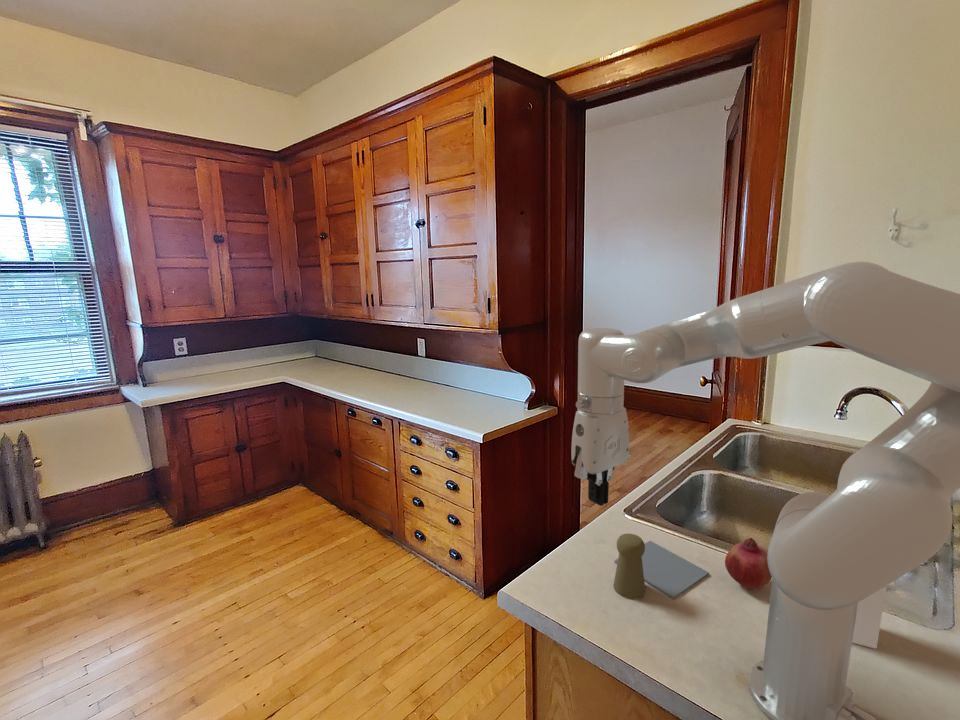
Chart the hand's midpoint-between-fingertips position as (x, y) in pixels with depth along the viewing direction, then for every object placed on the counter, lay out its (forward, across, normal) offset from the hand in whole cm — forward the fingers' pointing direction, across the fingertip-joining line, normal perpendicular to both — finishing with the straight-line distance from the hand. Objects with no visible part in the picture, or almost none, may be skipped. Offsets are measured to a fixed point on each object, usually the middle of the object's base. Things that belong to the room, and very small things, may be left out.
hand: (598, 501), depth 83 cm
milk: (+22, +30, -29) cm, 47 cm away
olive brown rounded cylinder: (+22, +9, 0) cm, 24 cm away
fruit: (+22, +28, -13) cm, 38 cm away
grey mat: (+22, +19, 0) cm, 29 cm away
